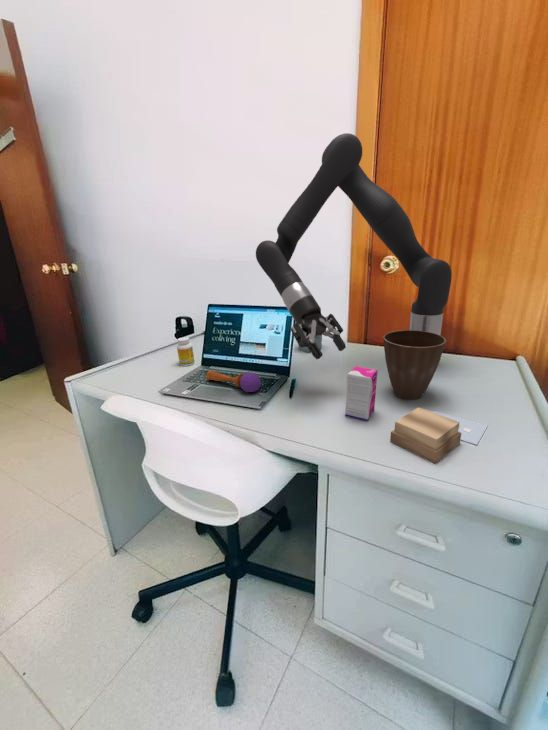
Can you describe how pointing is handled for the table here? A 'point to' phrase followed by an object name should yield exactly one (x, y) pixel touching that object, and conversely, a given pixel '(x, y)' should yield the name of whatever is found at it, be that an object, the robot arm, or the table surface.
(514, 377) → the table surface
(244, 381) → the kendama
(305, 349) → the gray cup
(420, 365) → the plant pot
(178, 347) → the supplement bottle
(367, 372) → the supplement box
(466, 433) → the page
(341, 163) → the robot arm
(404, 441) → the base block
